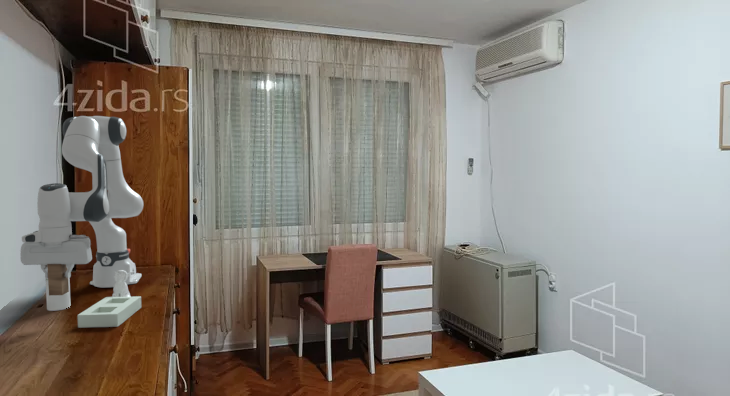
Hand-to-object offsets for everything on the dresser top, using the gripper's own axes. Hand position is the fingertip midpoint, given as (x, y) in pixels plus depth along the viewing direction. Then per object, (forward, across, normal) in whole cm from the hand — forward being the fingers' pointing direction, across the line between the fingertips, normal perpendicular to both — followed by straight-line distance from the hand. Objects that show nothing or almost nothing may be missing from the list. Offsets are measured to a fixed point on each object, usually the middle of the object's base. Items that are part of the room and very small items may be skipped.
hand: (58, 277), depth 155 cm
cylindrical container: (+15, +9, -16) cm, 24 cm away
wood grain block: (+5, 0, 0) cm, 5 cm away
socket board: (+15, -14, -4) cm, 21 cm away
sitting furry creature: (+15, -10, -21) cm, 28 cm away
